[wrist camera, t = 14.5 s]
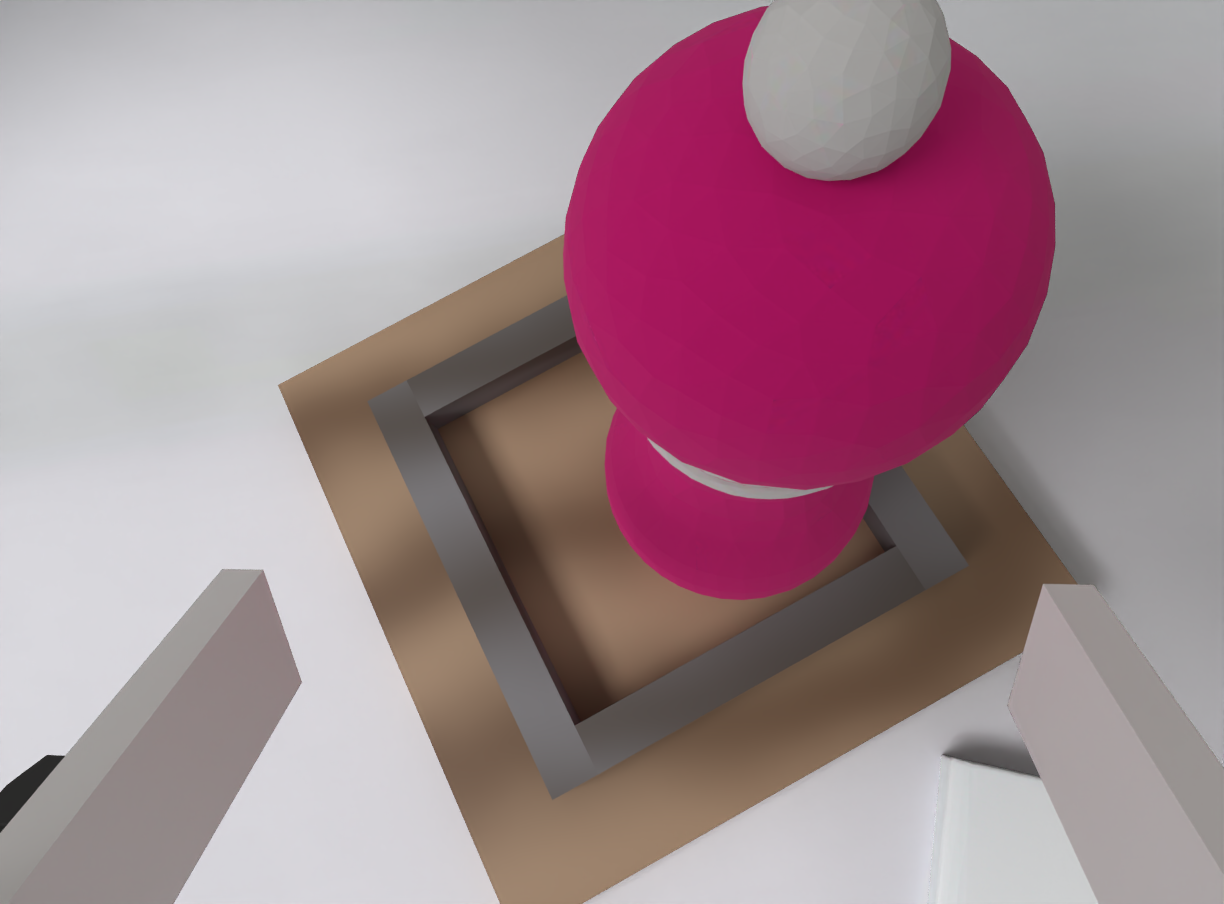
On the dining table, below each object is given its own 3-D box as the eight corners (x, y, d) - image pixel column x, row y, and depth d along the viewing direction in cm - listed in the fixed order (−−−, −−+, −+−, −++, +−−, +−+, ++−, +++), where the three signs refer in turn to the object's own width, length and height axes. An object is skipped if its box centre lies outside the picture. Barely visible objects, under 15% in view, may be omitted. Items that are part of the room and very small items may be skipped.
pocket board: (294, 395, 29) (257, 371, 27) (751, 154, 30) (758, 107, 27) (524, 927, 24) (505, 958, 21) (1076, 612, 24) (1121, 607, 22)
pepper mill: (825, 627, 24) (1415, 517, 5) (600, 588, 25) (312, 363, 6) (849, 409, 26) (1352, -329, 6) (636, 380, 27) (514, -340, 7)
